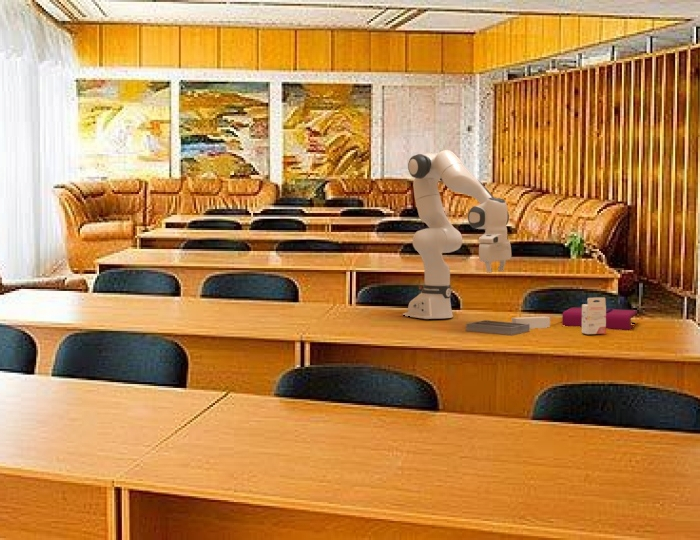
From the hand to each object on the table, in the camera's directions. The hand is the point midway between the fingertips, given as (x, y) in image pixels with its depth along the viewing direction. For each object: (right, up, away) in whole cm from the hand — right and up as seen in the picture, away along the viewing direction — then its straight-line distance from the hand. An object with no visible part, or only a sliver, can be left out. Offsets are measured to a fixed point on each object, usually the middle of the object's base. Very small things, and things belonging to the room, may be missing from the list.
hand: (495, 272), depth 431 cm
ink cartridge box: (+40, -25, -1) cm, 47 cm away
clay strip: (+16, -24, +11) cm, 31 cm away
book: (+47, -24, +21) cm, 57 cm away
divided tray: (+1, -24, +3) cm, 24 cm away
